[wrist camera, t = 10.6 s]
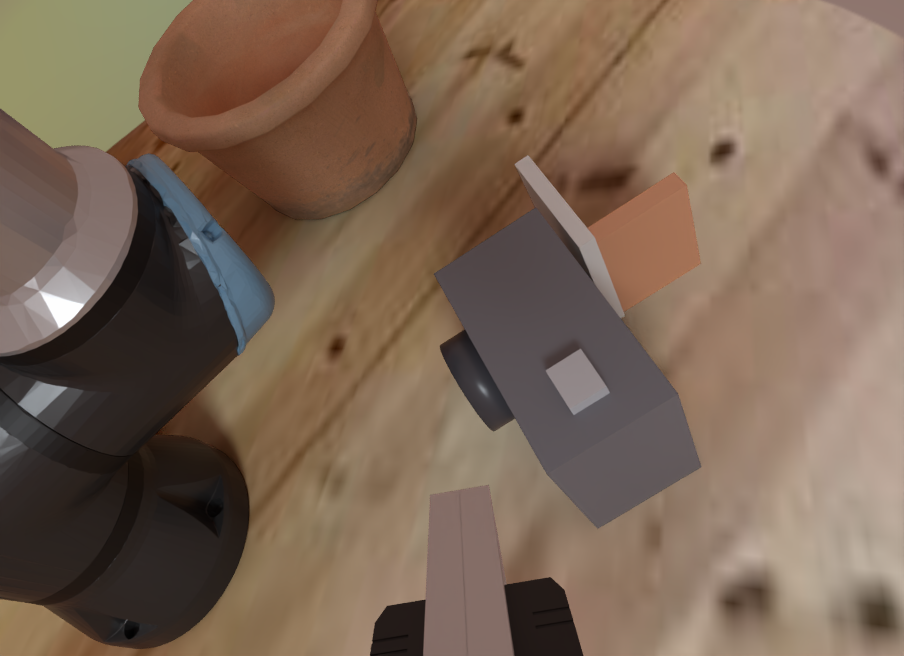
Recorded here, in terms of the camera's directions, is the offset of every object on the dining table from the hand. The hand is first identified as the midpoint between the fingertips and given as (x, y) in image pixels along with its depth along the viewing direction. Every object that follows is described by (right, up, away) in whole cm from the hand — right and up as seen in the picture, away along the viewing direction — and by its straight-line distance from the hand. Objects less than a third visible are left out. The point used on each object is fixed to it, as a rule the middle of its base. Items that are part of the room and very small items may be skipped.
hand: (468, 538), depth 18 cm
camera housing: (+8, 0, +27) cm, 28 cm away
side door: (+11, +10, +30) cm, 33 cm away
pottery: (-11, +22, +50) cm, 55 cm away
